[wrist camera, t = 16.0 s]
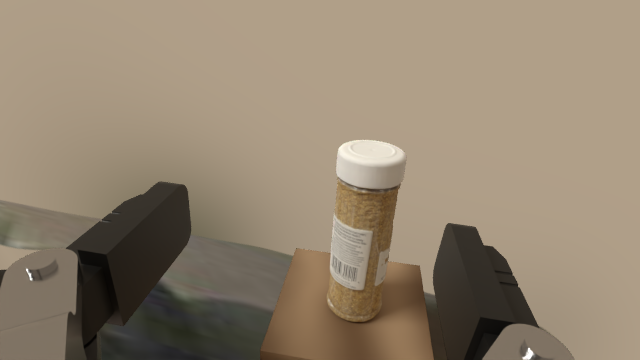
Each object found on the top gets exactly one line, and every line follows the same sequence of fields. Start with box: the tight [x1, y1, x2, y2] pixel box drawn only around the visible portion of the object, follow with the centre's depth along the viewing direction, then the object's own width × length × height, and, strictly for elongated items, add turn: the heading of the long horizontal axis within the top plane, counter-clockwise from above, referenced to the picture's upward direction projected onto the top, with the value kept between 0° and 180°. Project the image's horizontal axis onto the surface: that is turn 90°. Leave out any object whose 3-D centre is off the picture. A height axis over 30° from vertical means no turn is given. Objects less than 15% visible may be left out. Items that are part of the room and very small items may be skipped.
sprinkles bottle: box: [327, 140, 406, 322], centre depth 27 cm, size 5×5×13 cm
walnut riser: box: [260, 248, 434, 360], centre depth 32 cm, size 12×12×7 cm
